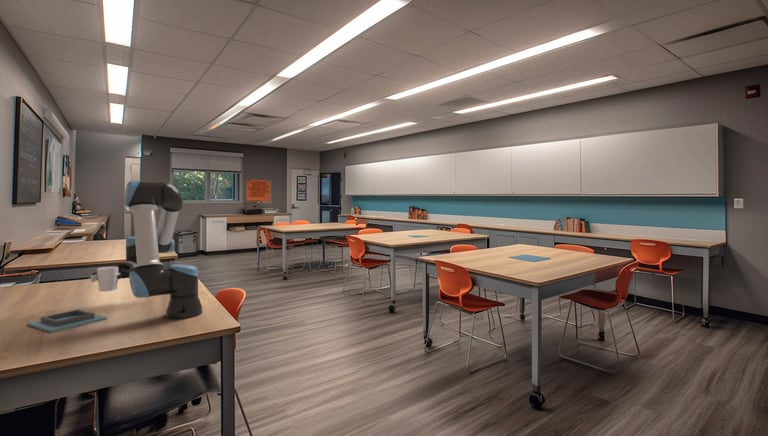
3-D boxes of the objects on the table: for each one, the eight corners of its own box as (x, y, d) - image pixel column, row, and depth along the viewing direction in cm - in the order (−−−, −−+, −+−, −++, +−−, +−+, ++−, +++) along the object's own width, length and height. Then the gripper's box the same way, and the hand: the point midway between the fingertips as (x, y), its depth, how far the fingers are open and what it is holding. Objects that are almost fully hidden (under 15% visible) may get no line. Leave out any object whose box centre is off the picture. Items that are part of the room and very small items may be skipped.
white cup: (120, 290, 170) (120, 268, 169) (98, 292, 164) (98, 270, 164) (116, 287, 175) (116, 265, 175) (95, 289, 170) (95, 267, 169)
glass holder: (106, 319, 166) (106, 312, 166) (51, 332, 148) (51, 325, 148) (82, 313, 175) (82, 306, 175) (27, 325, 157) (27, 318, 157)
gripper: (148, 276, 189) (128, 286, 167) (103, 277, 185) (75, 288, 163) (148, 261, 189) (128, 269, 167) (102, 262, 185) (75, 270, 162)
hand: (102, 278), depth 165 cm, fingers closed on white cup, 7 cm apart
